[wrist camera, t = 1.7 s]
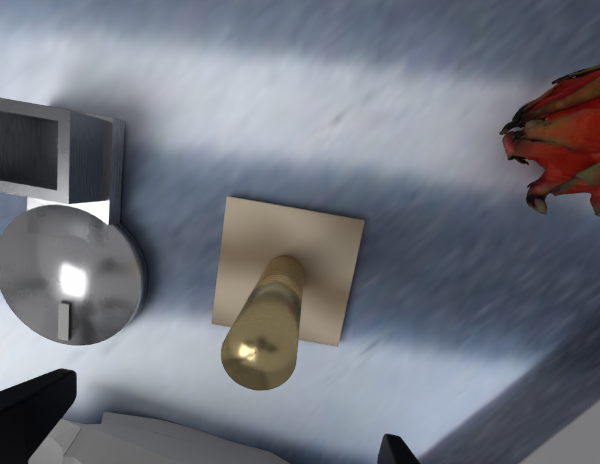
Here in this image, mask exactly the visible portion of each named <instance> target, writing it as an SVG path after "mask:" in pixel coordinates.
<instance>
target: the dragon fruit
mask: <svg viewBox="0 0 600 464" xmlns="http://www.w3.org/2000/svg"><path fill="white" fill-rule="evenodd" d="M577 72H578V73H576V72H574V73H575V74H573V73H571V74H573V75H570V74H569V75H566V76H564V77H561V78H559V79H557V80H555V81H553V82H552V84H555V83H558V84H557V85H555V86H554V87H553V88H551V89H550V90H548V91H547V92H546V93H544V94H543V95H542V96H541V97H539V98H537V99H536V100H533V101H531V102H529V103H527V104H525V105H524V106H522V107H521V108H520V109H519V110H518V112H517V113H516V114H515V116H514V117H513V120H512V122H510V123H508V124H506V125H505V126H504V127H503V129H502V131H501V132H500V133H499V135H504V134H505V136H504V138H503V140H502V141H503V144H504V148H505V151H506V154H507V157H508V160H513V159H515V160H517V161H518V162H520V163H521V164H527V165H529V164H528V162H526V161H525V160H523V159H528V160H534V161H536V162H537V163H538V164H539V165H540V166H542V167H543V168H544V169H545V170H546V171H545V172H544V174H543V175H542V176H541V177H540V178H539V179H538V180H536V181H534V182H532V183H530V184H529V185H528V186H527V188H528V187H529V186H530V188H529V190H528V193H527V197H526V200H527V204H528V205H529V206H530V207H532V208H533V209H534V210H535V211H537V212H539V213H542V214H546V211H547V206H546V203H545V198H546V196H547V195H548V194H549V193H551V194H553V195H554V196H557V195H562V194H572V193H583V192H586V193H591V198H590V203H591V205H592V207H593V209H594V211H595V215H597V216H600V65H598V66H594V67H591V68H588V69H583V70H580V71H577ZM574 76H576V77H575V78H572V77H574ZM515 127H520V128H522V127H524V130H521V131H515V132H514V131H510V132H508V131H509V130H511V129H512V128H515ZM507 132H508V133H507Z"/></svg>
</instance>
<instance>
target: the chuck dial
mask: <svg viewBox="0 0 600 464" xmlns="http://www.w3.org/2000/svg"><path fill="white" fill-rule="evenodd" d="M124 133H125V121H123V120H120V119H117V118H114V117H108V116H102V115H96V114H90V113H84V112H79V111H73V110H68V109H62V108H56V107H51V106H45V105H39V104H33V103H27V102H21V101H15V100H10V99H4V98H0V192H2V193H8V194H13V195H19V196H25V197H27V211H26V212H24V213H22V214H21V215H19V216H18V217H17V218H15V219H14V220H13V221H12V222H11V223H10V224H9V226H8V227H7V228H6V230H5V231H4V233H3V235H2V237H1V239H0V289H1V292H2V294H3V296H4V298H5V300H6V302H7V304H8V305H9V307H10V308H11V310H12V311H13V312H14V313H15V315H16V316H17V317H18V318H19V319H20V320H21V321H22V322H23V323H24V324H25V325H26V326H28V327H29V328H30V329H31V330H33V331H35V332H36V333H38V334H39V335H41V336H43V337H45V338H47V339H50V340H52V341H55V342H58V343H62V344H67V345H90V344H95V343H98V342H101V341H104V340H106V339H108V338H110V337H111V336H113V335H115V334H116V333H117V332H119V331H120V330H121V329H123V328H124V327H125V326H126V325H128V324H129V323H130V322H131V321H132V320H133V319H134V318H135V317H136V316H137V314H138V313H139V311H140V309H141V307H142V305H143V303H144V301H145V297H146V294H147V287H148V275H147V267H146V264H145V260H144V257H143V254H142V252H141V250H140V248H139V246H138V244H137V242H136V241H135V239H134V238H133V237H132V235H131V234H130V233H129V232H128V230H127V229H126V228H125V227H124V226H123V225H122V224H120V209H121V190H122V171H123V152H124Z"/></svg>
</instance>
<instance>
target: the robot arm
mask: <svg viewBox="0 0 600 464" xmlns="http://www.w3.org/2000/svg"><path fill="white" fill-rule="evenodd" d="M76 395H77V375H76V372H75V371H73V370H68V369H57V370H55V371H52V372H49V373H47V374H44V375H41V376H39V377H36V378H34V379H31V380H28V381H26V382H23V383H21V384H18V385H15V386H13V387H10V388H7V389H5V390H2V391H0V464H25V463H26V462H27V461H28V460H29V459H30V457H31V456H32V455H33V454H34V453H35V451H36V450H37V449H38V447H39V446H40V445H41V444H42V442H43V441H44V440H45V439H46V437H47V436H48V435H49V433H50V432H51V431H52V430H53V428H54V427H55V426H56V425H57V423H58V422H59V421H60V419H61V418H62V417H63V416H64V414H65V413H66V412H67V411H68V409H69V408H70V407H71V405H72V404H73V402H74V401H75V398H76ZM377 464H420V462H419V461H418V460H417V458H416V457H415V456H414V454H413V453H412V452H411V450H410V449H409V448H408V446H407V445H406V444H405V442H404V441H403V440H402V438H401V437H399V436H397V435H392V434H385V435H384V436H383V439H382V443H381V447H380V450H379V454H378V459H377Z"/></svg>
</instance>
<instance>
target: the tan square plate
mask: <svg viewBox="0 0 600 464" xmlns="http://www.w3.org/2000/svg"><path fill="white" fill-rule="evenodd" d="M364 222H365V220H363V219H357V218H351V217H345V216H340V215H334V214H328V213H323V212H317V211H311V210H305V209H300V208H294V207H288V206H282V205H277V204H271V203H265V202H260V201H254V200H248V199H242V198H237V197H231V196H228V197H227V200H226V209H225V217H224V225H223V233H222V242H221V250H220V258H219V266H218V275H217V283H216V291H215V299H214V308H213V316H212V324H216V325H222V326H227V327H232V326H233V324H234V322H235V320H236V318H237V317H238V315H239V313H240V311H241V310H242V308H243V306H244V304H245V303H246V301H247V299H248V297H249V296H250V294H251V292H252V290H253V289H254V287H255V285H256V283H257V282H258V280H259V278H260V276H261V275H262V273H263V271H264V269H265V267H266V266H267V264H268V263H269V261H270V260H272V259H273V258H275V257H277V256H280V255H288V256H292V257H294V258H296V259H297V260H298V261H299V262H300V263H301V264H302V266H303V268H304V273H305V277H304V287H303V298H302V308H301V318H300V328H299V339H298V340H304V341H309V342H315V343H320V344H326V345H331V346H337V347H338V344H339V339H340V335H341V330H342V325H343V321H344V316H345V311H346V306H347V302H348V297H349V292H350V288H351V283H352V278H353V274H354V269H355V264H356V260H357V255H358V250H359V246H360V241H361V236H362V232H363V227H364Z"/></svg>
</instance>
